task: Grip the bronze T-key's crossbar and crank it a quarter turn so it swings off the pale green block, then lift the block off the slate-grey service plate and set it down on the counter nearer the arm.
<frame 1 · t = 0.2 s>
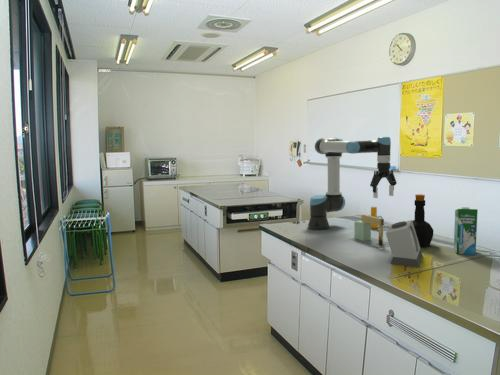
hand: (383, 196, 232), 28 cm above the table, fingers open, 13 cm apart
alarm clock: (404, 259, 198), on the table
bottle: (418, 245, 224), on the table
service plate: (370, 242, 232), on the table
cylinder: (373, 228, 269), on the table
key: (372, 229, 230), point 9 cm above the table, hinge at 0.0°
milk carton: (464, 252, 207), on the table
pale green block: (362, 238, 238), point 1 cm above the table, touching service plate
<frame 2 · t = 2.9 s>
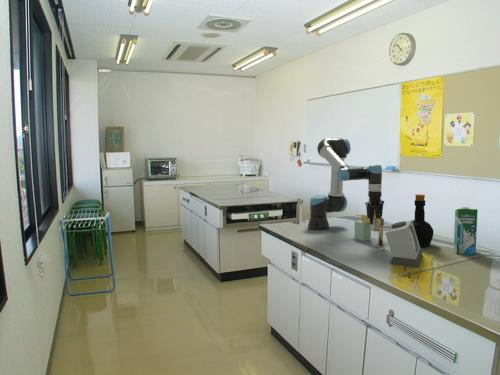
hand: (374, 228, 228), 9 cm above the table, fingers closed on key, 2 cm apart
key: (372, 229, 230), point 9 cm above the table, hinge at 0.0°, touching gripper
everything else where it was.
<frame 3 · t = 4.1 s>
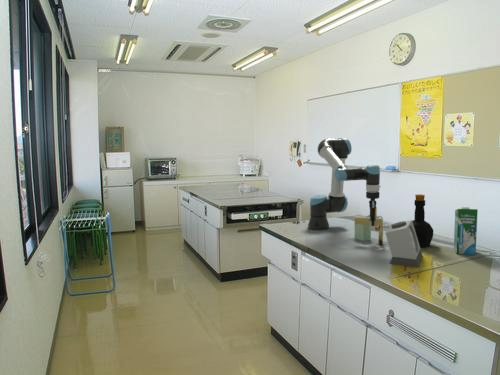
hand: (372, 230, 226), 9 cm above the table, fingers closed on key, 3 cm apart
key: (368, 230, 227), point 9 cm above the table, hinge at 38.3°, touching gripper
everything else where it was.
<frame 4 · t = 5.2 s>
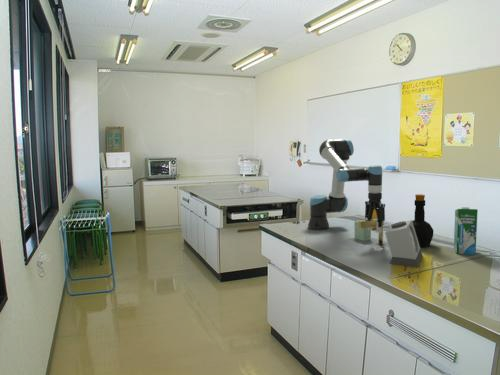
hand: (374, 231, 222), 9 cm above the table, fingers open, 6 cm apart
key: (371, 232, 222), point 9 cm above the table, hinge at 82.7°
everything else where it was.
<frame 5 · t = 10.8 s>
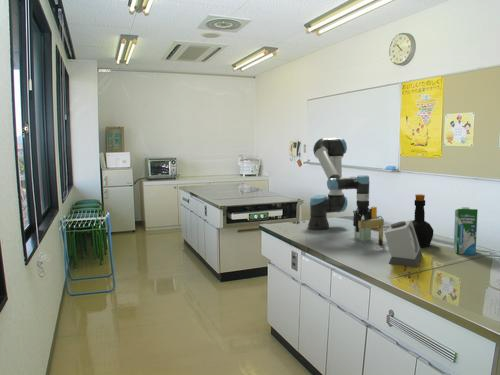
hand: (362, 236, 238), 2 cm above the table, fingers closed on pale green block, 6 cm apart
pale green block: (362, 238, 238), point 1 cm above the table, touching gripper, service plate
everything else where it was.
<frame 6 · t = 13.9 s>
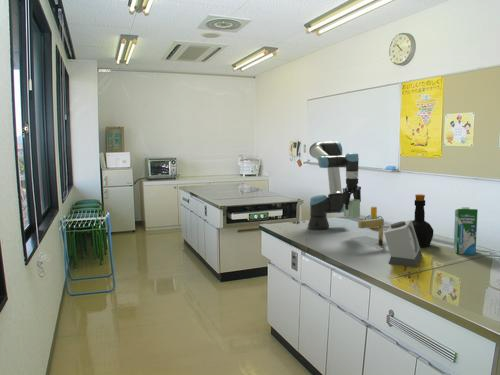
hand: (351, 213, 240), 16 cm above the table, fingers closed on pale green block, 6 cm apart
pale green block: (351, 216, 240), point 14 cm above the table, touching gripper
everything else where it was.
when the fingers open (3 cm above the table, at t = 17.5 s): pale green block drops 2 cm, on the table.
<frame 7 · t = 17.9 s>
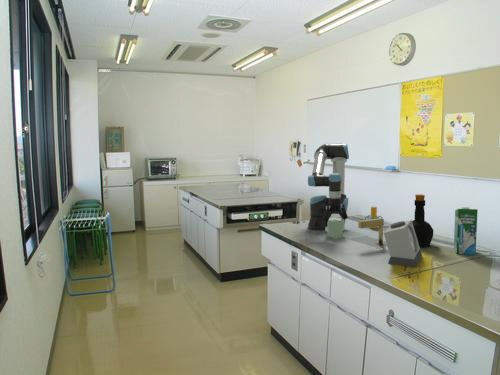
hand: (334, 230, 245), 5 cm above the table, fingers open, 12 cm apart
pale green block: (335, 237, 246), on the table
everything else where it was.
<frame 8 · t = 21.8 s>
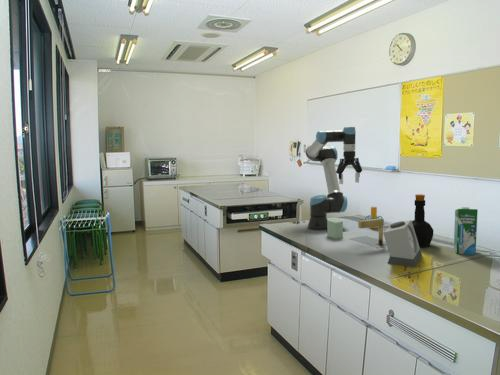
hand: (349, 183, 247), 35 cm above the table, fingers open, 13 cm apart
nothing on the table moved.
at the end: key at +83° (first picture: +0°); pale green block inside the target area (0.0 cm from its centre), on the table; pale green block tilted 0° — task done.
